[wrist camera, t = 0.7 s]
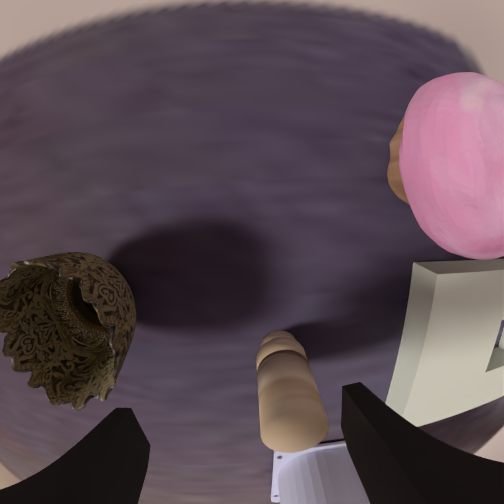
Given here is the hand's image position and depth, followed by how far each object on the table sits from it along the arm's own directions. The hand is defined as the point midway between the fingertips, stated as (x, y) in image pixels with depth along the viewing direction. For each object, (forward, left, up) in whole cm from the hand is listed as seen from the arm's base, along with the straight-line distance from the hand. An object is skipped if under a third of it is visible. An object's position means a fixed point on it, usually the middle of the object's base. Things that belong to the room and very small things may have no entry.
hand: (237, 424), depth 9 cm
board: (-3, -19, -10) cm, 22 cm away
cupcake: (+9, -11, -10) cm, 18 cm away
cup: (+1, +9, -10) cm, 13 cm away
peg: (-3, -2, -10) cm, 11 cm away
